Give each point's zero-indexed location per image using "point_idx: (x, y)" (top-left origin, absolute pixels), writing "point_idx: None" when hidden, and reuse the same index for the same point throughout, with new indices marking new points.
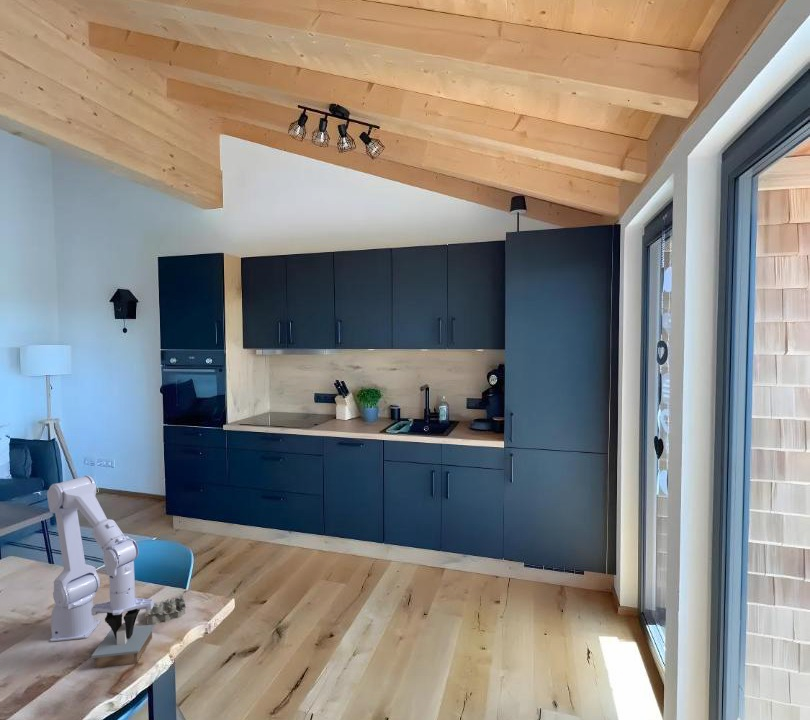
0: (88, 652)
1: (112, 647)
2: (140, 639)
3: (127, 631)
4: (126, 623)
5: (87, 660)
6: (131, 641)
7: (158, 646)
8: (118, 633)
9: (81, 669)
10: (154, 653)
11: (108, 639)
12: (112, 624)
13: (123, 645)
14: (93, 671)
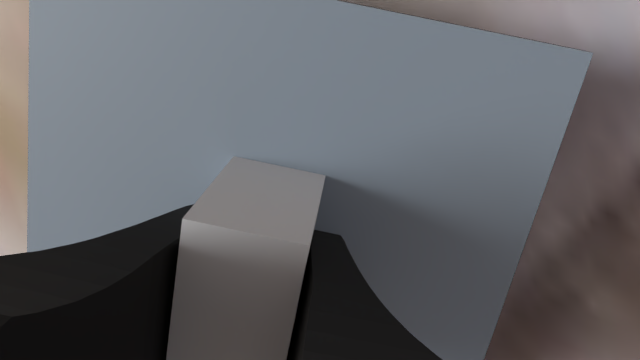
0: (596, 312)
1: (366, 136)
2: (81, 176)
3: (159, 229)
4: (83, 279)
5: (593, 201)
6: (173, 175)
7: (20, 172)
8: (283, 227)
9: (632, 81)
10: (21, 79)
11: (440, 312)
12: (365, 341)
13: (246, 131)
14: (519, 3)
